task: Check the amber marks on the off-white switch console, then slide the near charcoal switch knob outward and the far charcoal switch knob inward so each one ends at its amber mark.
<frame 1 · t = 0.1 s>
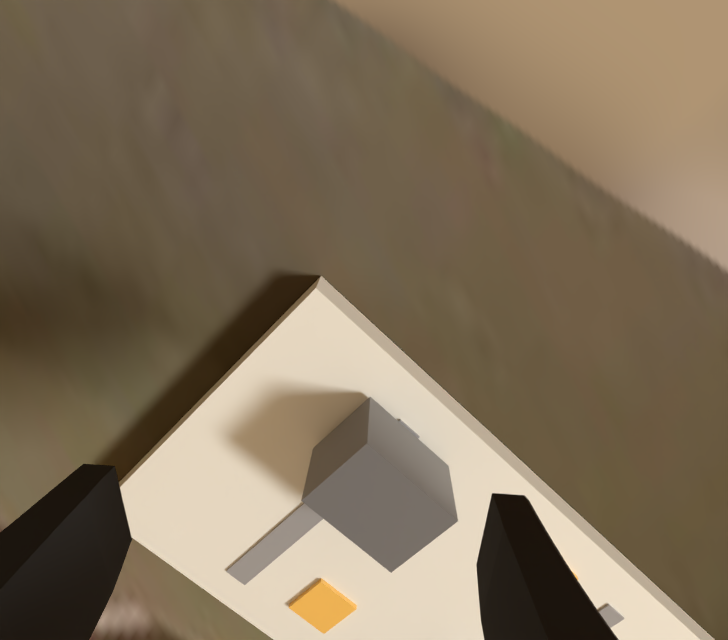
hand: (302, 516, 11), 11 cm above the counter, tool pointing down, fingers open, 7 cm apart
switch b: (380, 481, 19), point 3 cm above the counter, slide at 7.0 cm
switch console: (423, 565, 24), on the counter
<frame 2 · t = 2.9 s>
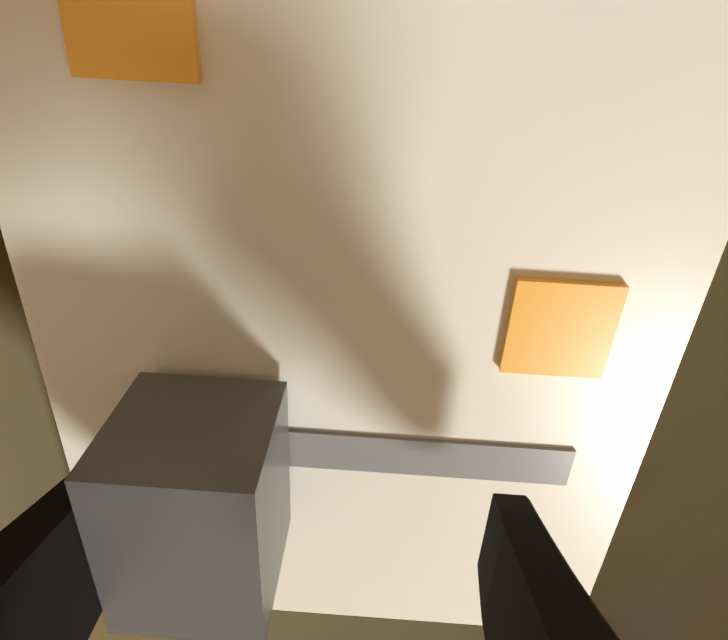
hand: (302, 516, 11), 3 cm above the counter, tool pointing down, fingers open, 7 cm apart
switch console: (360, 163, 11), on the counter
switch a: (200, 504, 11), point 3 cm above the counter, slide at 0.8 cm, touching gripper
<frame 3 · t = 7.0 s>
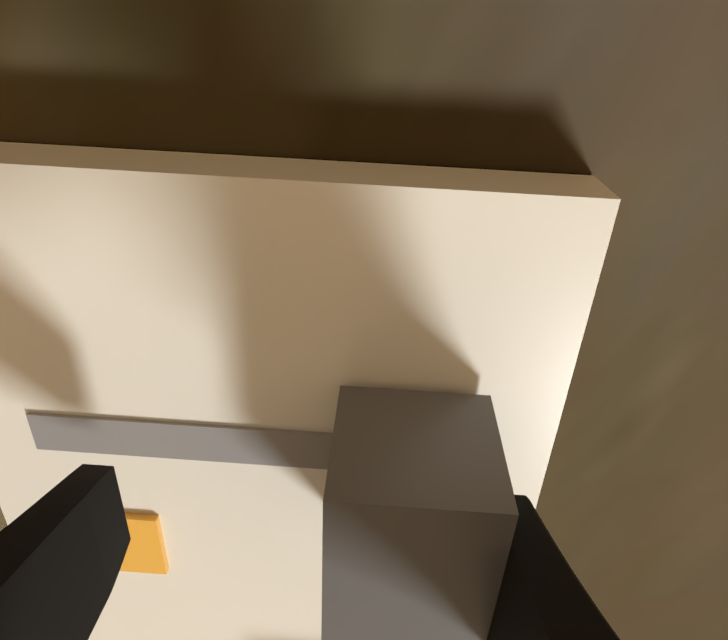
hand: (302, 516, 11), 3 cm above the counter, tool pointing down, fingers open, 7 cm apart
switch b: (408, 520, 11), point 3 cm above the counter, slide at 6.9 cm, touching gripper
switch console: (276, 562, 17), on the counter
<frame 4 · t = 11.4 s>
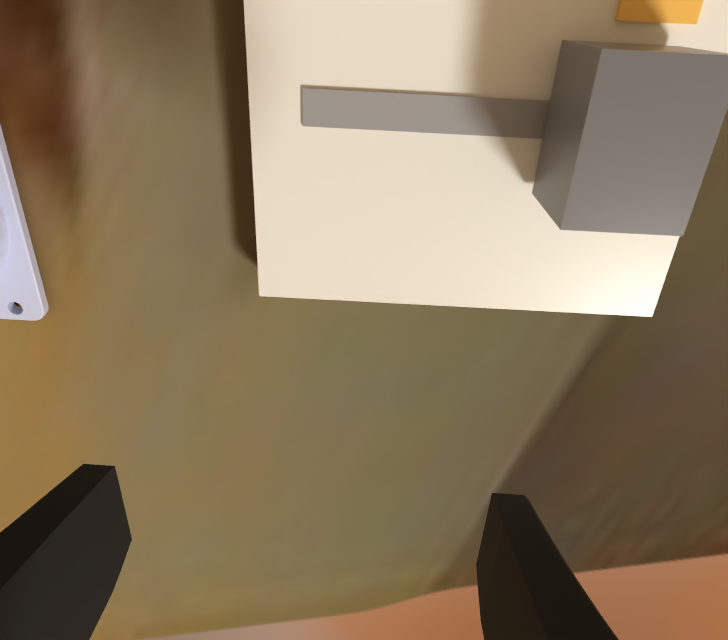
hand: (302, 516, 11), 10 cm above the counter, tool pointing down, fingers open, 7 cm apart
switch a: (621, 135, 14), point 3 cm above the counter, slide at 6.7 cm
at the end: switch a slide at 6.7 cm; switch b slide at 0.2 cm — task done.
